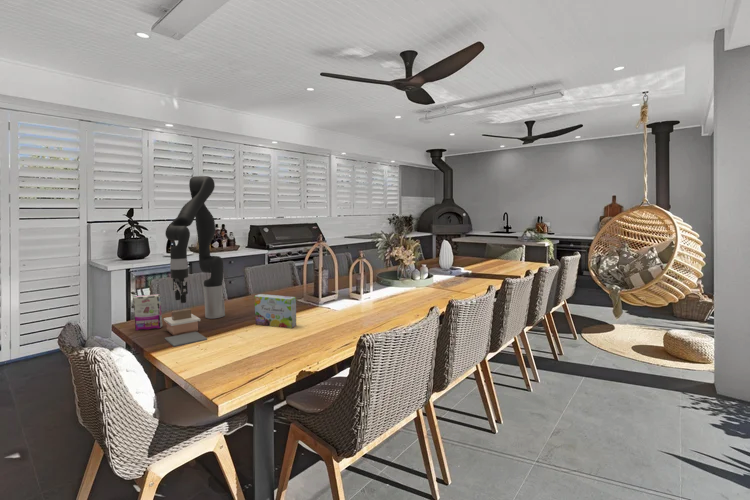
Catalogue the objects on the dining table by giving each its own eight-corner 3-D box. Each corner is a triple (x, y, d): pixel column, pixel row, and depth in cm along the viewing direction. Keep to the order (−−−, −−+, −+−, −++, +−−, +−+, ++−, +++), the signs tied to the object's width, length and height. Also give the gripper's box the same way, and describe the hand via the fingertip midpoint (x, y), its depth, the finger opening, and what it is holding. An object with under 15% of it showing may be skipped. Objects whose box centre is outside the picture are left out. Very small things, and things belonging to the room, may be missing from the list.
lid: (191, 315, 207) (190, 305, 207) (200, 320, 198) (199, 310, 197) (163, 320, 199) (162, 310, 198) (171, 326, 189) (170, 315, 188)
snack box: (254, 324, 208) (253, 295, 207) (261, 322, 213) (260, 293, 212) (291, 328, 201) (290, 298, 200) (297, 325, 207) (296, 296, 205)
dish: (190, 325, 206) (190, 316, 206) (198, 330, 198) (197, 320, 198) (166, 330, 199) (166, 320, 199) (173, 335, 191) (173, 325, 190)
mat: (196, 332, 195) (196, 331, 195) (207, 339, 185) (207, 338, 185) (164, 339, 186) (164, 337, 186) (174, 346, 176) (173, 345, 176)
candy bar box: (162, 326, 206) (161, 293, 205) (160, 328, 202) (158, 296, 200) (137, 327, 203) (135, 295, 202) (135, 330, 199) (132, 297, 197)
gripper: (192, 268, 193) (193, 302, 194) (182, 265, 203) (184, 297, 205) (175, 270, 188) (176, 305, 189) (166, 266, 198) (167, 300, 200)
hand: (180, 301), depth 197 cm, fingers open, 8 cm apart
